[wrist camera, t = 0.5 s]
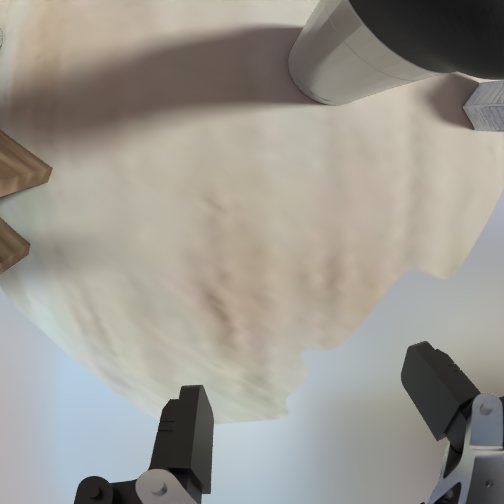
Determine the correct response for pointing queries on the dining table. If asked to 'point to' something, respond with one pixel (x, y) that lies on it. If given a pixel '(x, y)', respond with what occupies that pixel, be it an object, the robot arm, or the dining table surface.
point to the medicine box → (487, 107)
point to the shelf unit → (11, 180)
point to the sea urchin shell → (1, 38)
